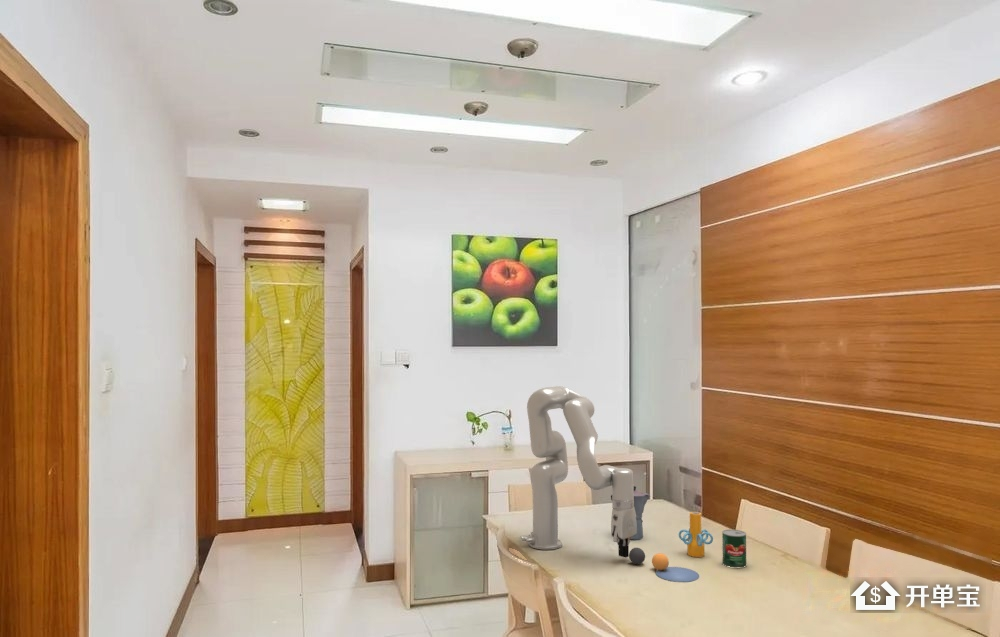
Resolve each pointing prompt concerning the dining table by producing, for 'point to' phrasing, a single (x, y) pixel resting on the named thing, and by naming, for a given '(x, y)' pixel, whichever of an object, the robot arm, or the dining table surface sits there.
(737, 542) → the canned tomato
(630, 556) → the dark grey ball
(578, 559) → the dining table surface
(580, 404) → the robot arm
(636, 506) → the moka pot
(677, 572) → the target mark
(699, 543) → the cylinder
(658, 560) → the object ball
